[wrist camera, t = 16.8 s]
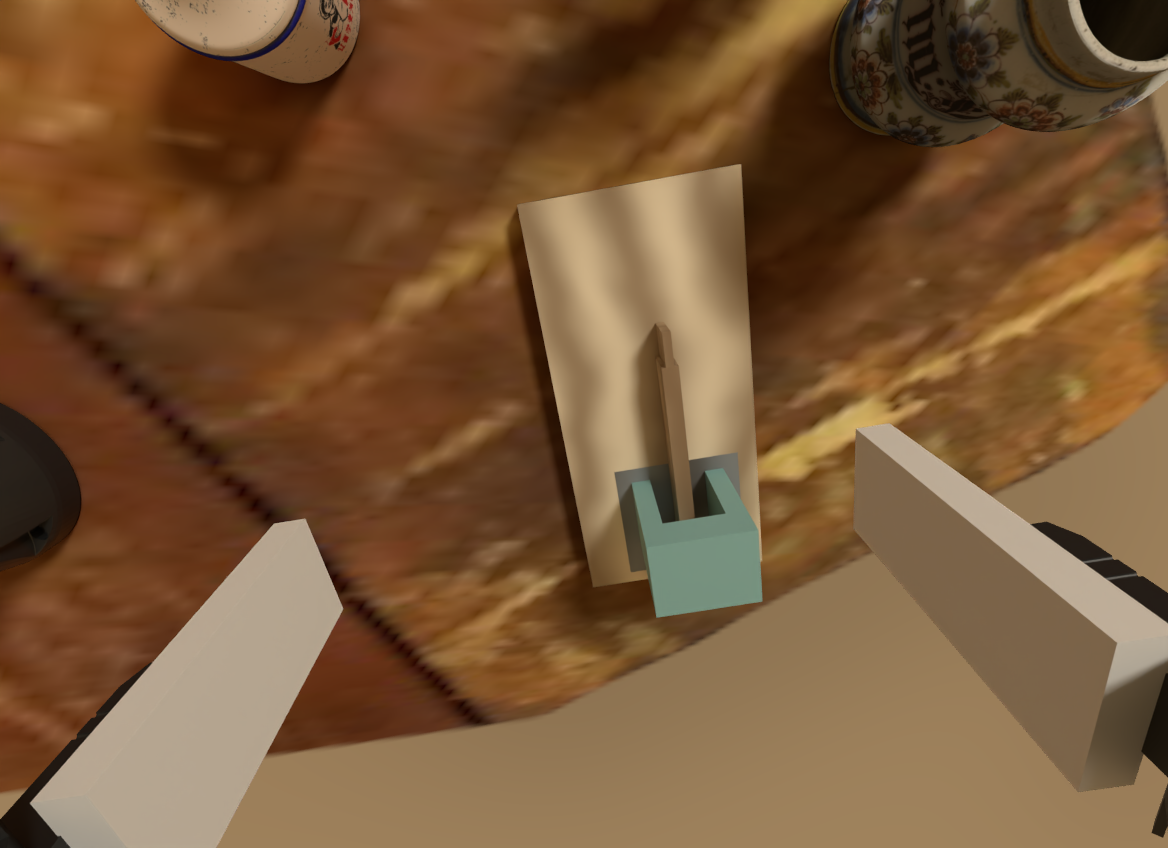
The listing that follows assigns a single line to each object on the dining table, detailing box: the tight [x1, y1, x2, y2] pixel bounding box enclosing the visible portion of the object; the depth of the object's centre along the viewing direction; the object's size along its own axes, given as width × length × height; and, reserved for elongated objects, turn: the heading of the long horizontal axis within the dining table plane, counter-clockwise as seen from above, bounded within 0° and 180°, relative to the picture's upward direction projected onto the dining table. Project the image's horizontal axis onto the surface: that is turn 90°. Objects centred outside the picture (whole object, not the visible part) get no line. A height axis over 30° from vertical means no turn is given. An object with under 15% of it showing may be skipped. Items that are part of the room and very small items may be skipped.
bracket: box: [632, 468, 762, 617], centre depth 43 cm, size 8×6×9 cm
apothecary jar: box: [829, 0, 1168, 147], centre depth 28 cm, size 12×12×18 cm
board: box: [517, 164, 762, 587], centre depth 43 cm, size 15×32×5 cm, turn 10°
